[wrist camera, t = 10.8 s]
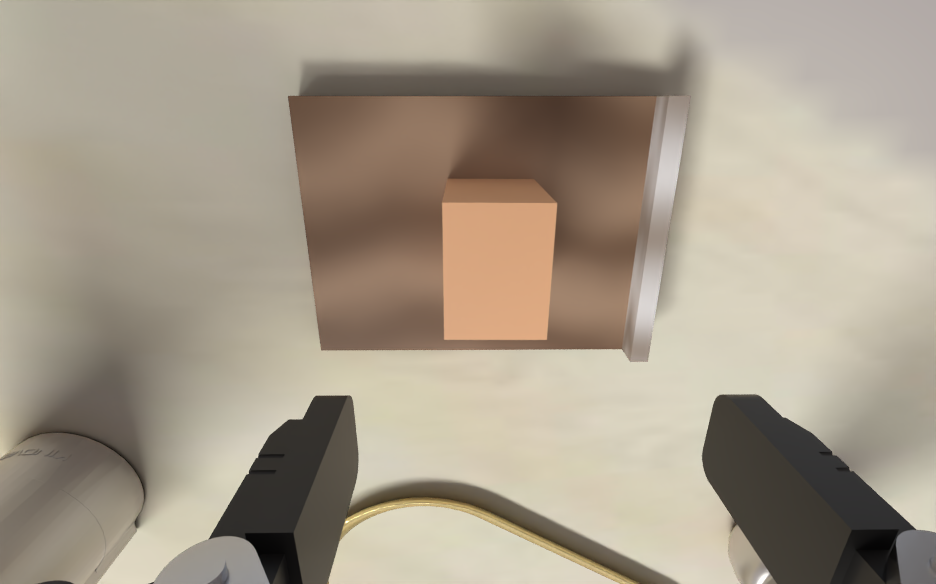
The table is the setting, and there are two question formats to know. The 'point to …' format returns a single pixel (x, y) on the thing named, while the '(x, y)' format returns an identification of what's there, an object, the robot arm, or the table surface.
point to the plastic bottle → (746, 560)
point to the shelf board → (485, 157)
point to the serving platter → (490, 517)
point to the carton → (497, 259)
